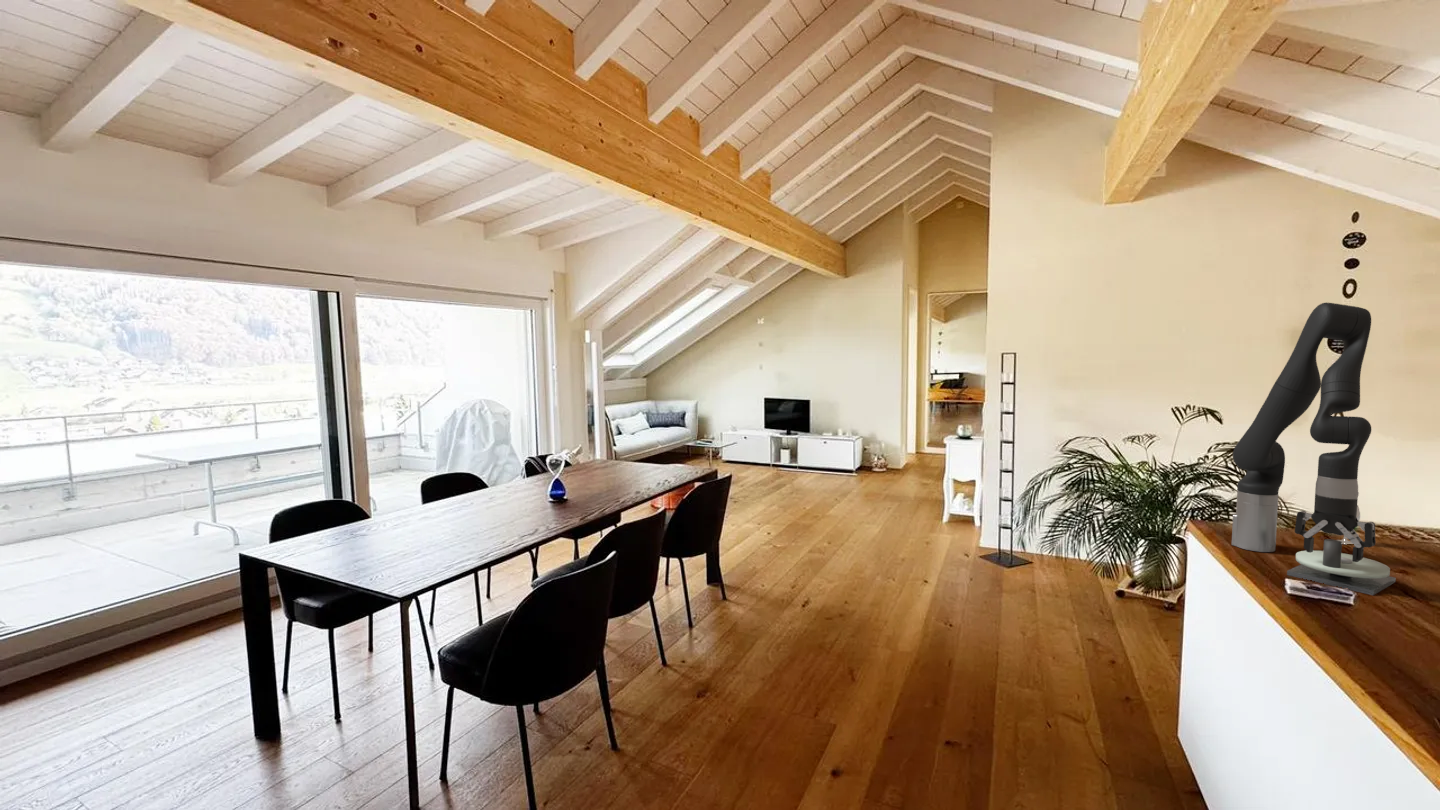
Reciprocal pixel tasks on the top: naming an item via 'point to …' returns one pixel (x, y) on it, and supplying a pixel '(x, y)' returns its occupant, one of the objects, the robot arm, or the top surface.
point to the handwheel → (1341, 562)
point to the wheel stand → (1342, 580)
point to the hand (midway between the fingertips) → (1332, 556)
